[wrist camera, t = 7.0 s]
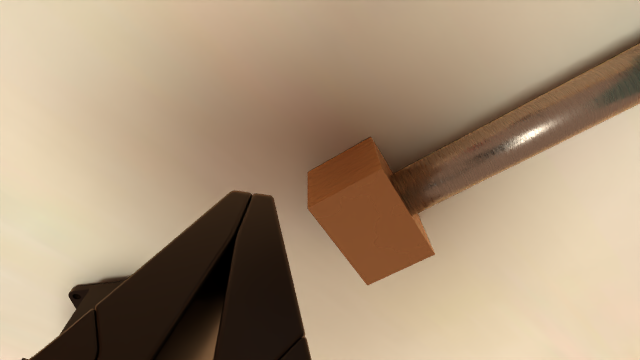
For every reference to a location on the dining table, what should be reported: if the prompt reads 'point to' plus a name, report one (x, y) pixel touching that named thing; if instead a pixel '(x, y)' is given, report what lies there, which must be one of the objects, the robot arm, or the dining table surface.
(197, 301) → the robot arm
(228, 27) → the dining table surface
